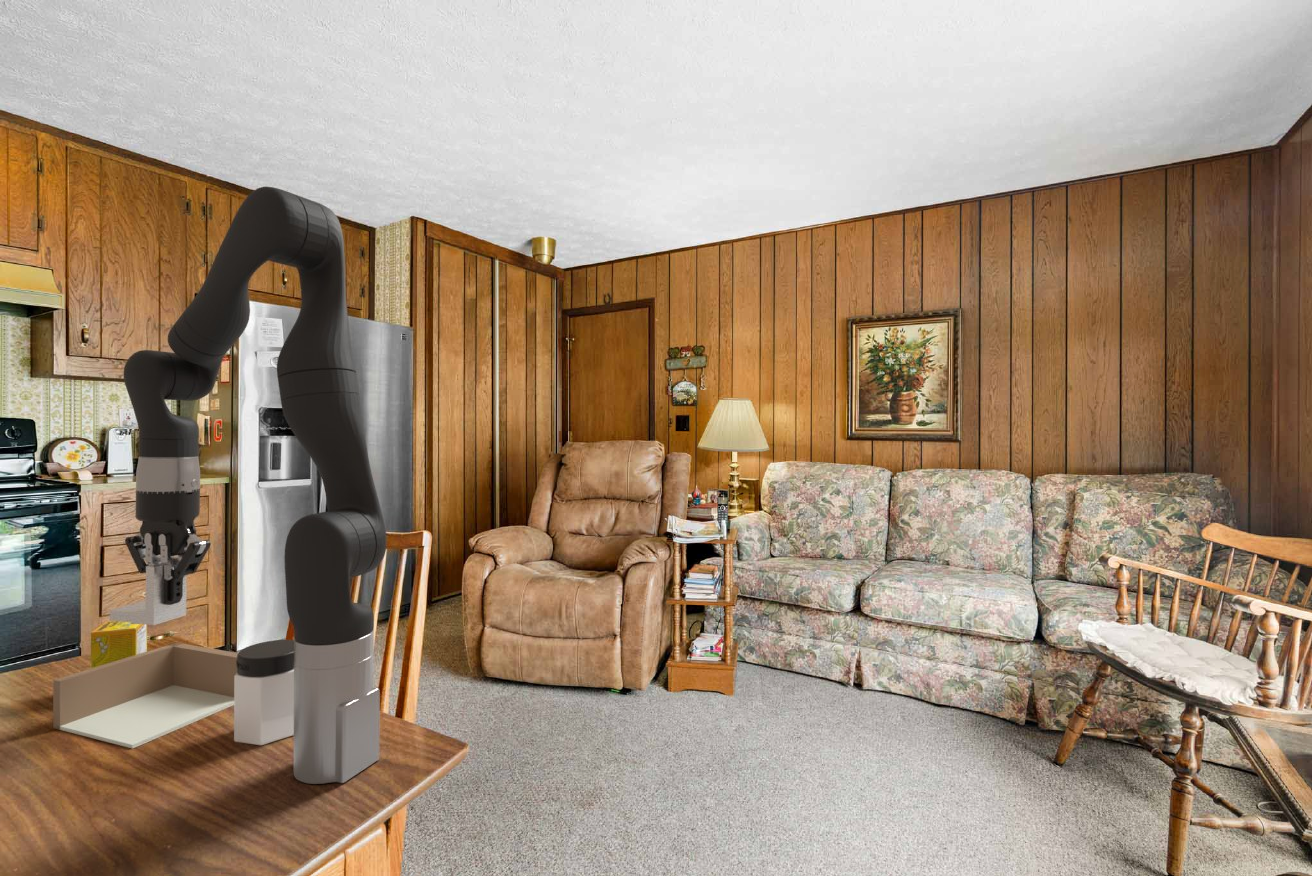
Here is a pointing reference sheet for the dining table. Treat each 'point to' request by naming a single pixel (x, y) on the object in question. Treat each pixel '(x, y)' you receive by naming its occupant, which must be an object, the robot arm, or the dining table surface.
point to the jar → (264, 692)
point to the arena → (145, 694)
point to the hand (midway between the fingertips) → (166, 602)
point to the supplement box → (117, 642)
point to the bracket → (152, 602)
